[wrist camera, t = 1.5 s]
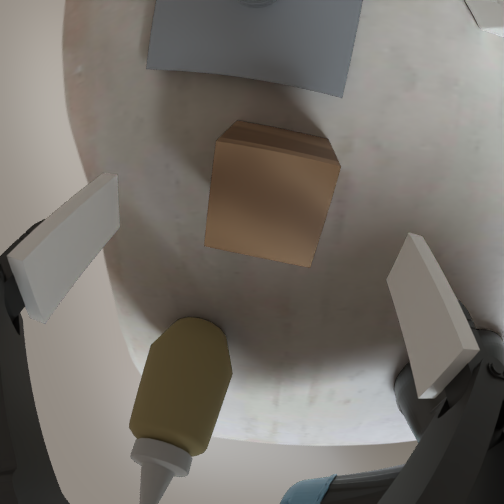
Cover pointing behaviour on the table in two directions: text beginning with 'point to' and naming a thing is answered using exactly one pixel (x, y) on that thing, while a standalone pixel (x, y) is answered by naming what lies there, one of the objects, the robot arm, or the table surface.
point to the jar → (488, 15)
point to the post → (256, 3)
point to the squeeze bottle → (178, 402)
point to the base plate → (258, 40)
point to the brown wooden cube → (270, 192)
